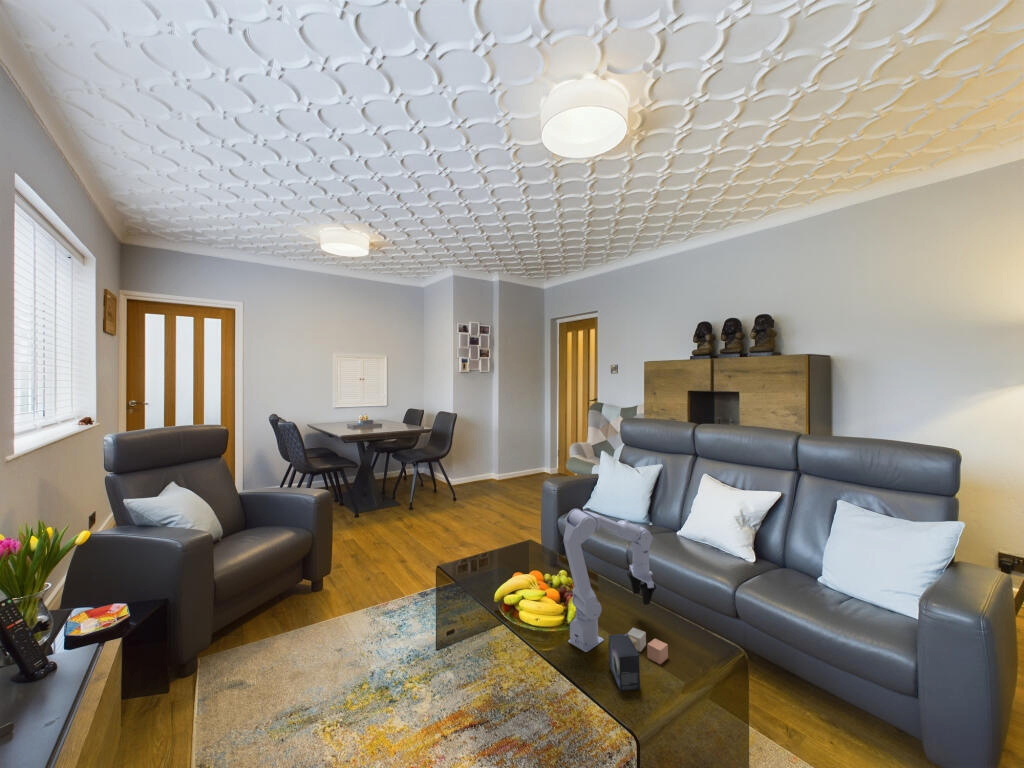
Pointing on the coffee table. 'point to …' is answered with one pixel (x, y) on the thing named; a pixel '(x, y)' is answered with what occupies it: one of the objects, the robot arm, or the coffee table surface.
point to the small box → (624, 662)
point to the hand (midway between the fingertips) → (641, 598)
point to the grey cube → (638, 638)
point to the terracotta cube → (657, 651)
